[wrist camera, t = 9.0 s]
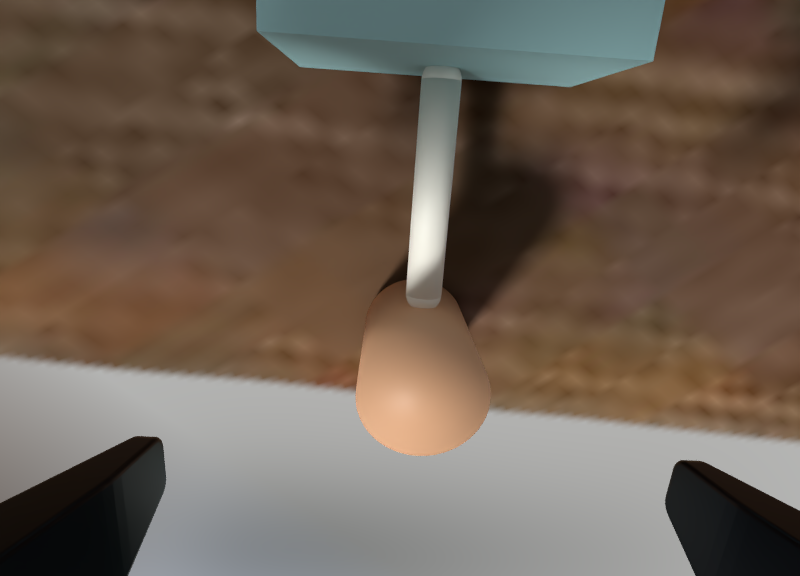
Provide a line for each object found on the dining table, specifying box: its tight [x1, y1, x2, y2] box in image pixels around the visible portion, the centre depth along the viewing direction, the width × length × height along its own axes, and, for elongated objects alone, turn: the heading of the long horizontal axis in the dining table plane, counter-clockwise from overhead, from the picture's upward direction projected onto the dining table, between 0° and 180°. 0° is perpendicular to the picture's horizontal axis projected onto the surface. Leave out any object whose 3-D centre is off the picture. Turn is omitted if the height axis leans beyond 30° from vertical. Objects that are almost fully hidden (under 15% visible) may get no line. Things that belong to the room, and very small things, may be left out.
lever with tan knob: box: [256, 0, 665, 456], centre depth 11 cm, size 7×12×5 cm, turn 176°
